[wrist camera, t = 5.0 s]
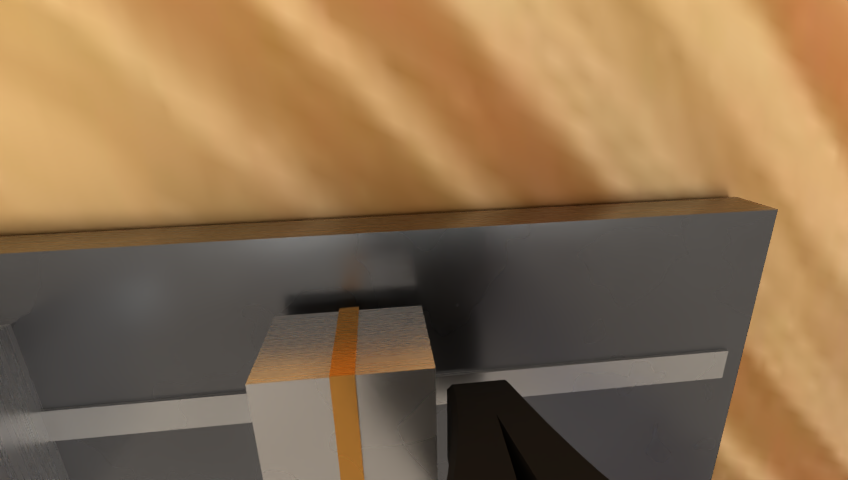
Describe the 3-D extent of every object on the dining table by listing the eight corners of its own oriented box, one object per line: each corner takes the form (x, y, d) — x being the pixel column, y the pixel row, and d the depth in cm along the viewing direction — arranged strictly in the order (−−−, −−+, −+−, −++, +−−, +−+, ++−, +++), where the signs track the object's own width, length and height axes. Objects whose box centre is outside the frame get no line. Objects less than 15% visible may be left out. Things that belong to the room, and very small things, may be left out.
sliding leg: (426, 487, 11) (440, 584, 9) (303, 500, 11) (285, 605, 9) (421, 302, 9) (435, 367, 7) (274, 312, 9) (243, 383, 7)
